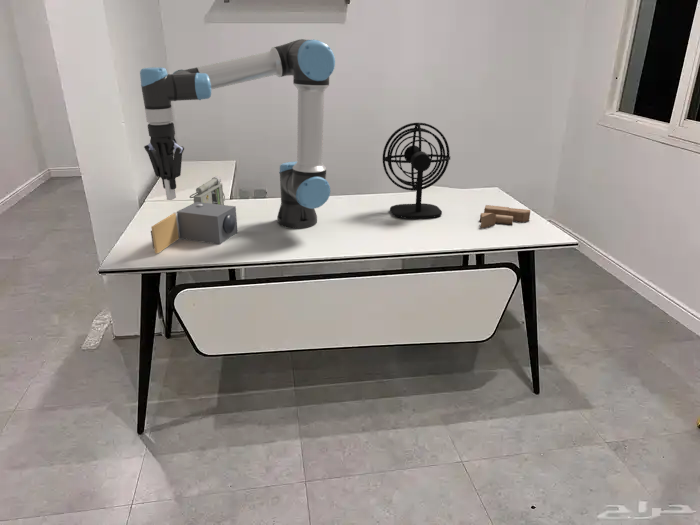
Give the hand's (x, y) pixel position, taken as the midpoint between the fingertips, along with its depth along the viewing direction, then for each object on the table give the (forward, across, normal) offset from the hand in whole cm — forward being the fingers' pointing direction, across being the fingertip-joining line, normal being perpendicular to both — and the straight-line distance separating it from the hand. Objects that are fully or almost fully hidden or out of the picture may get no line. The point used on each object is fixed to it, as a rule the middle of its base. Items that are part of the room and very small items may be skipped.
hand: (171, 198), depth 172 cm
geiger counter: (+19, +12, -39) cm, 45 cm away
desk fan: (+20, -64, -68) cm, 96 cm away
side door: (+18, +7, -3) cm, 19 cm away
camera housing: (+19, -1, -17) cm, 25 cm away
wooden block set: (+21, -99, -66) cm, 121 cm away
